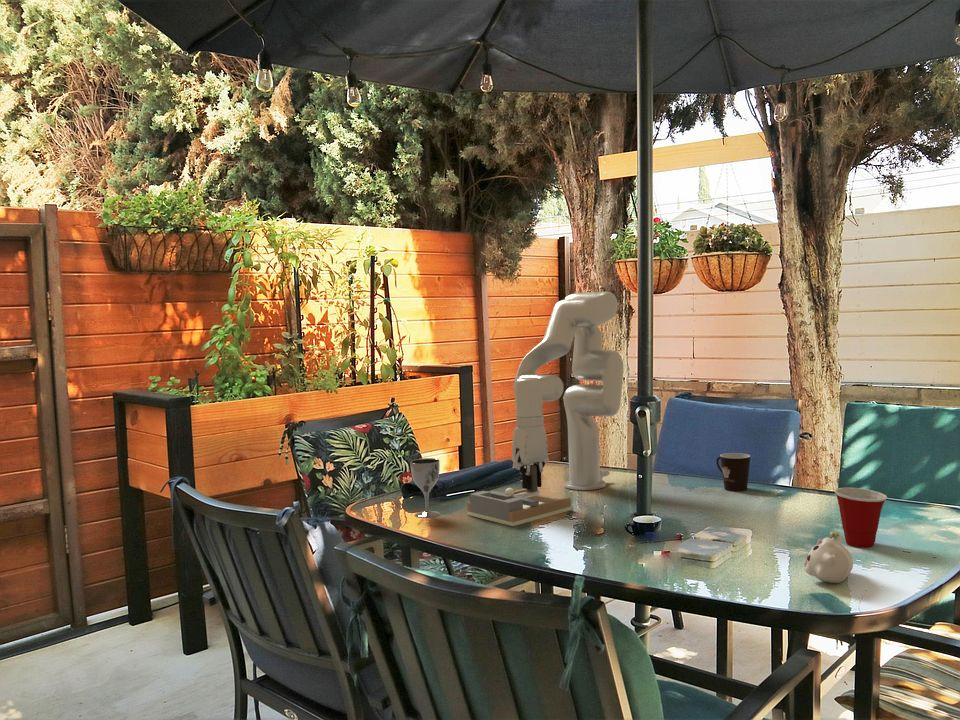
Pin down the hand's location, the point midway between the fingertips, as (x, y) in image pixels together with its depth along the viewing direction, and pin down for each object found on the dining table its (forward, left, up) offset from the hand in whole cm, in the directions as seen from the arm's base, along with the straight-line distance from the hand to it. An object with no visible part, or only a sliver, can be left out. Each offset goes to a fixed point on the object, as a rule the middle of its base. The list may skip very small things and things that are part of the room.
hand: (531, 487), depth 230 cm
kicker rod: (+4, 0, -5) cm, 6 cm away
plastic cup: (-25, +80, -6) cm, 84 cm away
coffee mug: (-57, +28, -6) cm, 64 cm away
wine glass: (+23, -18, -6) cm, 30 cm away
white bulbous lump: (+2, +86, -7) cm, 86 cm away
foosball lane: (+5, 0, -6) cm, 8 cm away
